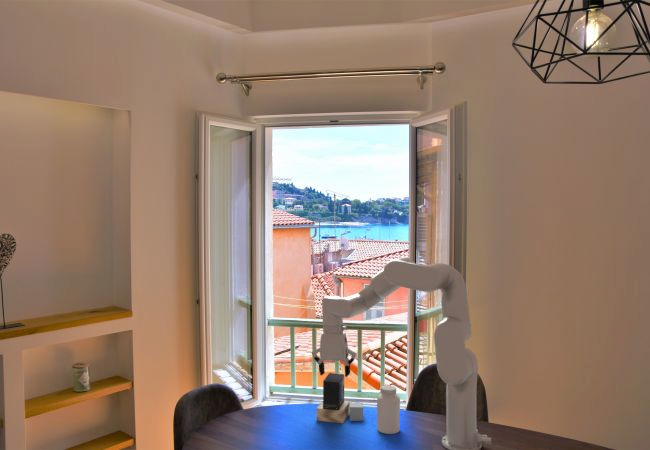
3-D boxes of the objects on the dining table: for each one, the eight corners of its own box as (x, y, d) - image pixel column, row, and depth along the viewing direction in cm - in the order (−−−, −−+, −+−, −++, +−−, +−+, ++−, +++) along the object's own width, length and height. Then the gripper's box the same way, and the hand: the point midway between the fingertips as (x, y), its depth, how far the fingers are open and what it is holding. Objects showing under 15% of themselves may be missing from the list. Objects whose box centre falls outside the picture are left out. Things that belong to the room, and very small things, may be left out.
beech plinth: (349, 413, 196) (349, 401, 196) (342, 423, 186) (342, 411, 186) (324, 410, 199) (324, 399, 199) (316, 420, 189) (316, 408, 189)
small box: (340, 410, 186) (339, 382, 186) (322, 409, 188) (322, 381, 188) (345, 400, 197) (345, 373, 196) (328, 399, 198) (328, 372, 198)
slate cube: (363, 415, 194) (362, 402, 194) (363, 420, 189) (363, 407, 189) (349, 415, 194) (349, 402, 194) (349, 420, 189) (349, 407, 189)
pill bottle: (397, 436, 175) (397, 392, 175) (374, 433, 177) (374, 389, 177) (402, 427, 182) (401, 385, 182) (379, 424, 185) (379, 382, 185)
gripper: (357, 327, 193) (359, 373, 193) (314, 326, 198) (316, 371, 198) (352, 332, 186) (354, 379, 186) (307, 330, 191) (309, 376, 191)
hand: (334, 375), depth 192 cm, fingers open, 9 cm apart
